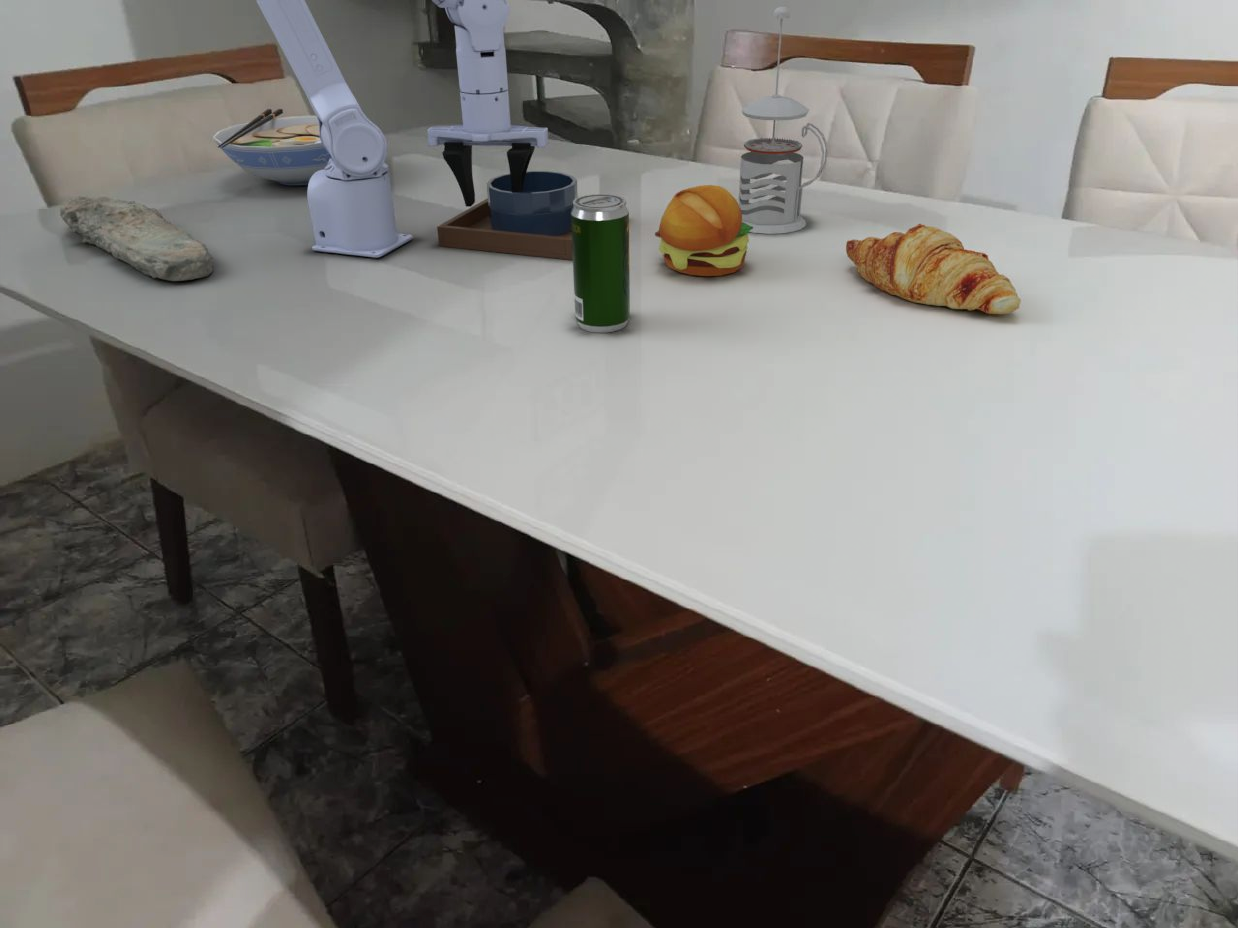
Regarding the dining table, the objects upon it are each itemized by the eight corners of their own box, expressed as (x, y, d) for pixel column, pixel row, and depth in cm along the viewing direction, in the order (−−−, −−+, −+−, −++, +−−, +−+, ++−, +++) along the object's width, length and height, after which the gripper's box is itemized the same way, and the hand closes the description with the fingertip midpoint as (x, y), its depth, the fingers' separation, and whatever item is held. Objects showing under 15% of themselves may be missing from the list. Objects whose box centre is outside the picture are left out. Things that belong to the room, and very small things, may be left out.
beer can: (594, 338, 89) (590, 213, 82) (565, 320, 93) (559, 199, 86) (640, 325, 91) (640, 203, 85) (610, 309, 95) (608, 190, 89)
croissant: (1023, 346, 94) (1061, 270, 92) (982, 325, 86) (1022, 242, 85) (856, 286, 108) (885, 219, 106) (808, 263, 101) (839, 192, 99)
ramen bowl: (356, 201, 132) (347, 141, 127) (196, 203, 132) (181, 143, 128) (395, 160, 153) (388, 107, 149) (257, 161, 153) (246, 109, 149)
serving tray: (438, 246, 114) (436, 226, 112) (499, 209, 127) (498, 191, 126) (572, 260, 108) (571, 240, 107) (621, 220, 122) (620, 202, 120)
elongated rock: (152, 305, 101) (240, 287, 108) (142, 258, 99) (233, 242, 105) (45, 223, 122) (124, 212, 128) (34, 183, 119) (116, 173, 126)
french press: (744, 208, 126) (755, 2, 113) (829, 218, 121) (850, 4, 108) (718, 228, 118) (727, 9, 105) (807, 239, 114) (828, 12, 101)
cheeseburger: (763, 254, 108) (763, 175, 101) (732, 306, 102) (731, 224, 95) (681, 243, 112) (676, 165, 105) (647, 292, 105) (639, 212, 98)
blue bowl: (481, 237, 114) (477, 192, 111) (502, 212, 124) (498, 170, 121) (569, 240, 113) (567, 194, 110) (584, 214, 122) (582, 171, 120)
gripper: (414, 96, 108) (428, 212, 115) (537, 96, 106) (544, 215, 113) (432, 85, 114) (444, 197, 121) (548, 86, 112) (554, 199, 119)
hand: (493, 205), depth 118 cm, fingers open, 5 cm apart
